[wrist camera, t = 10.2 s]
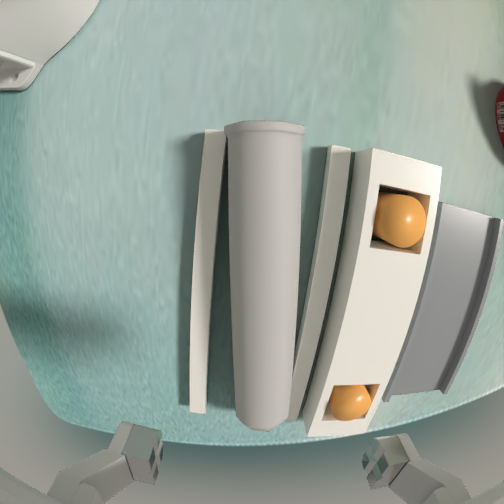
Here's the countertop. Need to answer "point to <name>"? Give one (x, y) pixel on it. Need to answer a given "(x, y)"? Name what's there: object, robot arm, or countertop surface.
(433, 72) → the countertop surface
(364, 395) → the rear plunger
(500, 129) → the canned food
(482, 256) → the tray
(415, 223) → the front plunger
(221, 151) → the housing
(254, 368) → the tube
